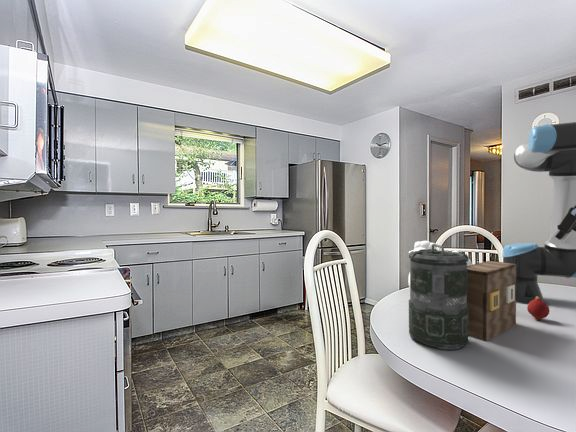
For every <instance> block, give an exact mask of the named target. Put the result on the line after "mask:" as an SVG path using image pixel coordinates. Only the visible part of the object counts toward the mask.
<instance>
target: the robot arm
mask: <svg viewBox="0 0 576 432" xmlns="http://www.w3.org/2000/svg"><path fill="white" fill-rule="evenodd" d="M513 160H514V163H515V165H517V166H518V167H519V168H521V169H523V170H526V171H530V172H537V173H538V172H539V173H540V172H541V173H542V172H548V176H549V177H550V178H551V179H552V181H553V187H552V199H551V202H552V203H551V216H550V230H549V238H548V240H545V242H544V246H539V245H538V244H537V243H535V242H520V243H510V244H506V245H505V246H503V249H502V250H503V251H502V262H504V263H512V264H516V303H521V304H529V302H530V301H532V300H534V299H535V297H539V298H540V299H541V300H543V299H544V297H543V293H542V291H541V288H540V286H539V283H538V276H545V277H555V278H557V277H558V278H566V279H570V278H573V279H575V278H576V121H574V122H563V123H554V124H553V123H552V124H548V123H547V124H543V125H539V126H534V127H532V128H531V129H530V131H529V135H528V142H525V143H523V144H521V145H519V147H517V149H516V150H515V151H514V155H513ZM543 301H544V300H543Z"/></svg>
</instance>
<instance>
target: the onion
mask: <svg viewBox="0 0 576 432" xmlns="http://www.w3.org/2000/svg"><path fill="white" fill-rule="evenodd" d="M526 308H527V309H526V310H527V312H528V314H530V316H532V317H533V318H534V319H535V320H537V321H541V320H543V319H545V318H547V317H548V316H549V314H550V307H549V305H548V304H547V303H546V301H544V300H541V299H540V298H539V297H535V299H534V300H532V301H530V302H529V303H527V306H526Z"/></svg>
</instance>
